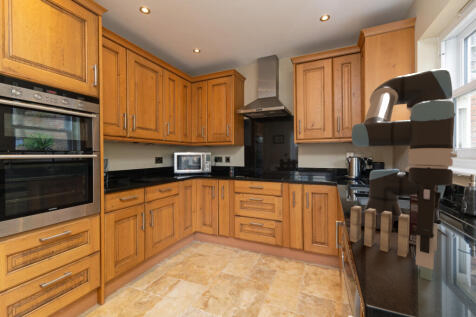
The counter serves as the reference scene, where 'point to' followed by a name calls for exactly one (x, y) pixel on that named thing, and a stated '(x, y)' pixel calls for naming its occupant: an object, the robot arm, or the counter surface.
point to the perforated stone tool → (378, 219)
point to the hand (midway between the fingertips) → (427, 256)
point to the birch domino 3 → (386, 231)
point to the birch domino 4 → (403, 235)
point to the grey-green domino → (426, 271)
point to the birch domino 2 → (370, 227)
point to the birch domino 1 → (355, 224)
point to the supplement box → (413, 218)
